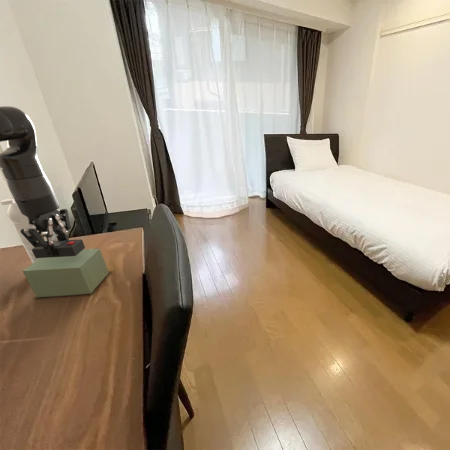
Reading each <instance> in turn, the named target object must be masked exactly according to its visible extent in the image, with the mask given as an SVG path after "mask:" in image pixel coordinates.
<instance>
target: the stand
mask: <svg viewBox="0 0 450 450" xmlns="http://www.w3.org/2000/svg"><path fill="white" fill-rule="evenodd" d="M22 273H23V275H24V276H25V278H26V280H27V282H28V284H29V286H30V288H31V289H32V291H33V293H34V295H35V297H36V298H47V297H48V298H51V297H64V296H78V295H90V294H92V293H93V292H94V291H95V289H97V287H98V286H99V285H100V284H101V282H102V281H103V280H104V279H105V278H106V277H107V276H108V275H109V273H110V272H109V269H108V266H107V264H106V262H105V259H104V256H103V253H102V250H101V248H84V249H83V250H82V251H81V252H80V253H79V254H77V255H76V256H67V257H50V258H39V259H38V260H37V261H35V262H34V263H31V264H30V265H29V266H27V267H26V268H24V269H23V270H22Z"/></svg>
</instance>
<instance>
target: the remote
mask: <svg viewBox="0 0 450 450" xmlns="http://www.w3.org/2000/svg"><path fill="white" fill-rule="evenodd" d="M53 244H54V245H55V247H56V249H57V252H58V254H59V255H58V256H57V257H67V256H76V255H77V254H79V253H80V252H81V251H82V250H83V249H86V246H85V244H84V241H83V239H82V238H81V239H69V240H60V241H58V240H53ZM32 252H33V254H34V256H35V258H50V257H49V256H47V254H46V252H45V250H44V248H43V247H35V248H33V249H32Z"/></svg>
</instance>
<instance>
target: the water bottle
mask: <svg viewBox="0 0 450 450" xmlns="http://www.w3.org/2000/svg"><path fill="white" fill-rule="evenodd" d="M0 203H1V205H2V206H8V208H7V211H6V216H7V217H8V219H9V221H10V222H11V225H12V226H13V229H14V230H15V232H16V234H17V236H18V238H19V241H20V243H22V246H23V248H24V249H25V251H26V253H27V255H28V258H29V259H30V261H31V264H33V263H34V262H35V261H37V260H38V259H39V258H35V256H34V254H33V252H32V249H33V248H35V247H33V245H32V244H31V243H30V242H29V241H28V240H27V239H26V238H25V237H24V236H23V234H22V233H21V229H26V228H27V227H28V226H29V221H28V217H26V216H25V215H23V214H21V212H20V210H19V208H18V206H17V204H16V202H15V200H14V198H13V196H12V194H11V195H9V198H6V199H5V198H4V199H2V200H0ZM41 233H43V234H44V233H47V232H41ZM44 240H45V241H47V238H46V237H44ZM37 242H38V241H37Z"/></svg>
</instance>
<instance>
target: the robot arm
mask: <svg viewBox="0 0 450 450" xmlns="http://www.w3.org/2000/svg"><path fill="white" fill-rule="evenodd" d="M35 128H36V127H35V125H34V122H33V121H32V120H31V118H30V116H29V115H27V113H26V112H24V110H21V109H20V108H18V107H16V106H10V105H8V106H7V105H5V106H4V105H3V106H0V143H1V142H6V145H7V147H6V149H5V150H3V151H1V152H0V171H1V172H2V174H3V177H4V179H5V180H6V184H7V186H8V190H9V192H10V194H11V195H12V196H13V198H14V200H15V202H16V204H17V206H18V208H19V210H20V212H21V214H23V215H25V216H26V217H28V221H29V226H28V227H27V228H26V229H21V233H22V234H23V236H24V237H25V238H26V239H27V240H28V241H29V242H30V243H31V244H32V245H33V247H43V248H44V250H45V252H46V254H47V256H49V257H57V256H58V255H59V254H58V252H57V249H56V247H55V245H54V244H53V241H54V239H53V237H54V234H55V235H56V239H57V241H60V240H70V239H69V236H68V234H69V233H68V231H69V230H71V229H72V226H71V221H70V214H69V211H68V209H67V208H60V203H59V201H58V200H59V199H58V197H57V196H56V193H55V191H54V188H53V187H52V184H51V182H50V179H49V178H48V176H47V175H46V173H45V171H44V169H43V166H42V164H41V162H40V159H39V157H38V143H37V133H36V129H35ZM41 232H47V233H44V234H43V233H41ZM44 237H46V238H47V241H45V240H44ZM37 241H38V242H37Z"/></svg>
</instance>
